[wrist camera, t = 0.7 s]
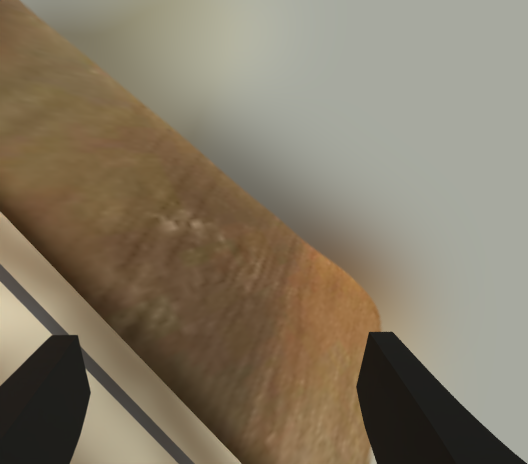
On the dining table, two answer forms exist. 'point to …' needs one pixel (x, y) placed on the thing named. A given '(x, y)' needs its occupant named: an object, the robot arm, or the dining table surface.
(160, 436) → the pine board
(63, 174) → the dining table surface
